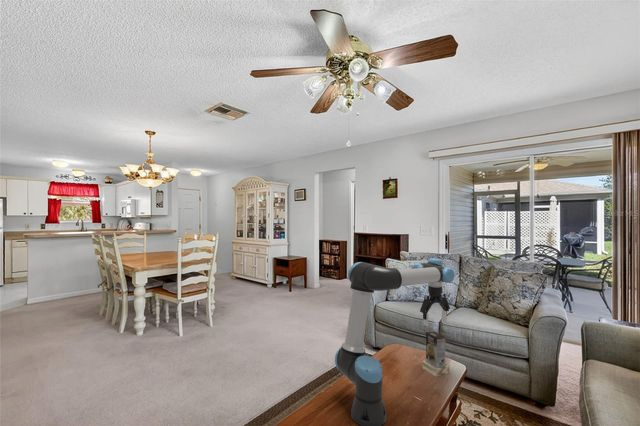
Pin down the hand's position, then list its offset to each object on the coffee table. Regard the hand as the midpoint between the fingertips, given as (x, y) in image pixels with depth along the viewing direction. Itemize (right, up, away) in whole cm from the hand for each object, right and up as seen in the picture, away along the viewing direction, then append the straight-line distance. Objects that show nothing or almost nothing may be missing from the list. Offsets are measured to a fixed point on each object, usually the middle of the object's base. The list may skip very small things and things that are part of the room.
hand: (435, 323), depth 165 cm
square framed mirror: (0, -27, 0) cm, 27 cm away
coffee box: (0, -22, 0) cm, 22 cm away
